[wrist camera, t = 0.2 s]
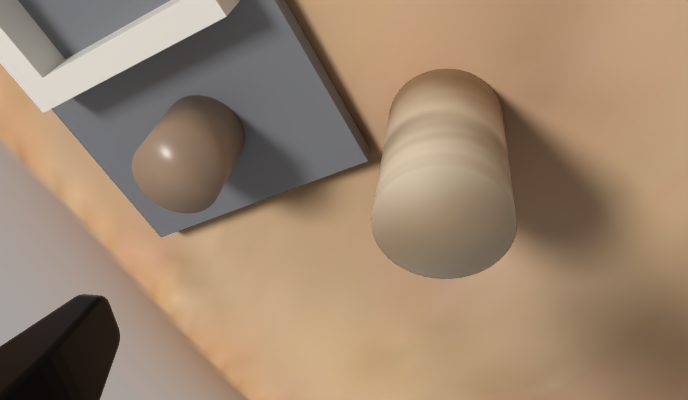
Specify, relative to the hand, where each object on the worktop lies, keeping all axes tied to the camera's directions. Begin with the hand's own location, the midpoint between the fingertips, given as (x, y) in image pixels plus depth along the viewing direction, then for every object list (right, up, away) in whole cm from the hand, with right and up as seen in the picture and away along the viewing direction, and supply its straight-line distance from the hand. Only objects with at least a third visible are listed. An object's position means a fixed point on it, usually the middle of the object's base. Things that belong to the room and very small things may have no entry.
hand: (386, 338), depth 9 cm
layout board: (-8, +8, +12) cm, 16 cm away
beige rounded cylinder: (+3, +5, +13) cm, 14 cm away
